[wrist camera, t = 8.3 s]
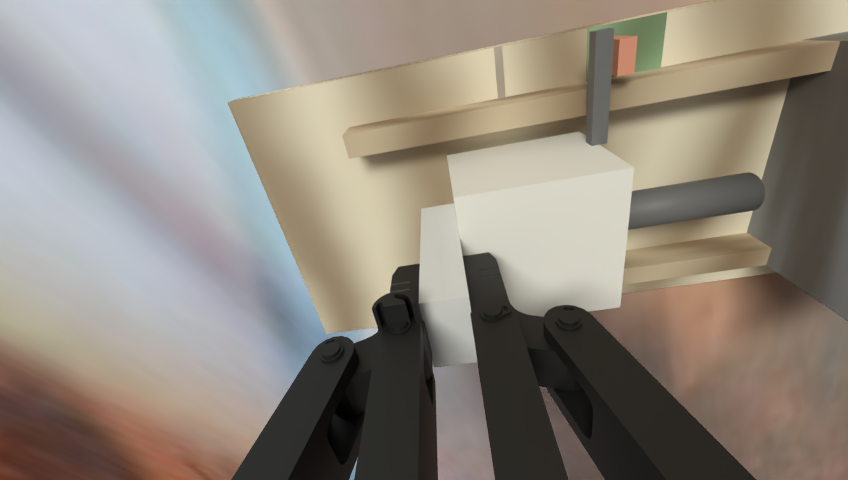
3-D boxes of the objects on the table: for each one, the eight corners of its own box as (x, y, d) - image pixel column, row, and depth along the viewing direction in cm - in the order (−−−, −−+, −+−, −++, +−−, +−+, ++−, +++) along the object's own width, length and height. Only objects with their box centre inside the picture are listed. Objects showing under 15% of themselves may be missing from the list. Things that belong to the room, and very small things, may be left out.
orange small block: (595, 71, 15) (617, 76, 13) (596, 38, 14) (619, 39, 13) (610, 68, 15) (634, 73, 13) (612, 35, 14) (637, 36, 13)
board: (330, 320, 24) (282, 465, 16) (239, 98, 17) (76, 156, 9) (791, 256, 21) (1011, 391, 13) (900, -39, 14) (1484, -125, 6)
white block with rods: (463, 262, 20) (473, 326, 15) (431, 60, 15) (433, 73, 11) (696, 227, 19) (778, 286, 14) (743, -4, 14) (889, -20, 9)
